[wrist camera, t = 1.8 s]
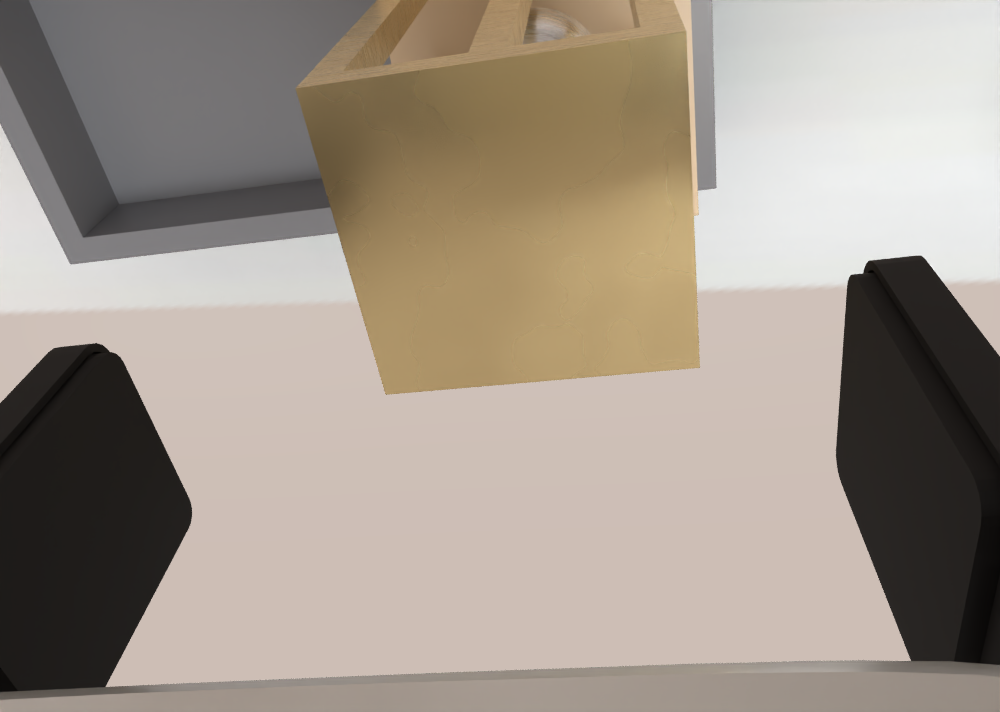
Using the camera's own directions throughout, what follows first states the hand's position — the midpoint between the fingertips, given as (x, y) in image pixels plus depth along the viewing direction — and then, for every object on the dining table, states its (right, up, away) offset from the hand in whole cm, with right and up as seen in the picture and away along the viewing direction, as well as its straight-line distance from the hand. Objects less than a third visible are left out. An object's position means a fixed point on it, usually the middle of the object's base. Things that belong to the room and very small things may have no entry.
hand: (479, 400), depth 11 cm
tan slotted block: (+1, +8, +12) cm, 15 cm away
